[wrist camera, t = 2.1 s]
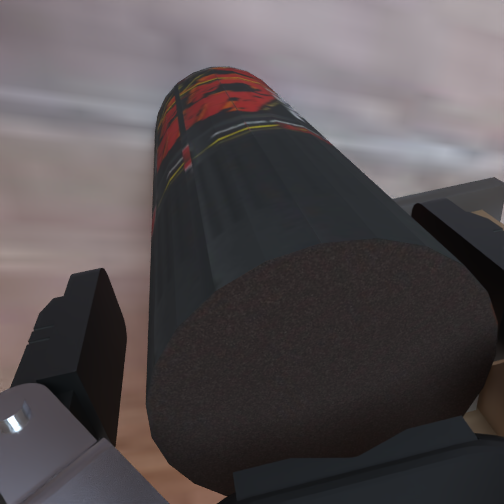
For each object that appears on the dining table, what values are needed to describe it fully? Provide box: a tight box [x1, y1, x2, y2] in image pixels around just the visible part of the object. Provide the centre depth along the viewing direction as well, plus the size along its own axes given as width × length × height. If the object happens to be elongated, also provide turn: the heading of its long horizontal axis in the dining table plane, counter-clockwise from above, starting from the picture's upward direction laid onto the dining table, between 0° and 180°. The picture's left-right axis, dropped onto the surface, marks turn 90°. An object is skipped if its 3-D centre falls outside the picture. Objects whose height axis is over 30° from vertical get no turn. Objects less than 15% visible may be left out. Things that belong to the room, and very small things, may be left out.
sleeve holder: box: [392, 177, 504, 437], centre depth 23 cm, size 14×14×9 cm
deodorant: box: [146, 67, 498, 496], centre depth 14 cm, size 6×6×15 cm
